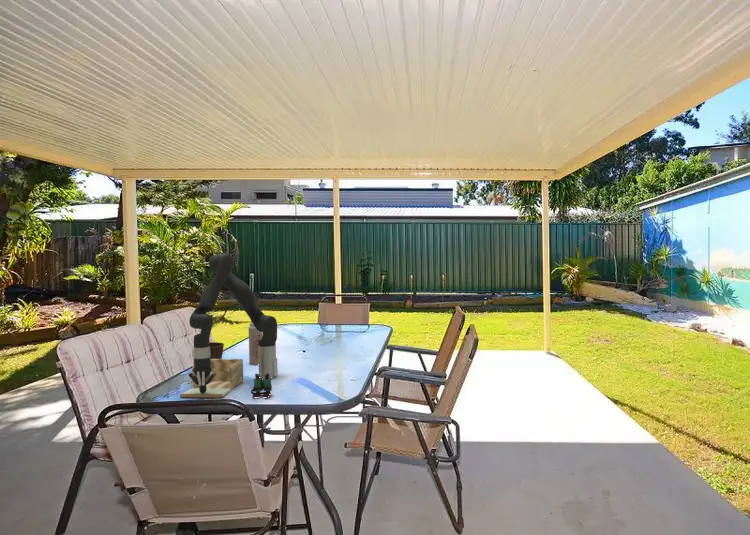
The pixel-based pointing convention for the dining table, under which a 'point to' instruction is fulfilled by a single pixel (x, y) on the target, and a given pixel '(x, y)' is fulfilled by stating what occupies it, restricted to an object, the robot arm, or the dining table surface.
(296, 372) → the dining table surface
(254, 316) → the robot arm
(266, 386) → the binoculars
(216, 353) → the plant pot
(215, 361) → the crate
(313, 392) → the dining table surface
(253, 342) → the thermos bottle
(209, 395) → the panel
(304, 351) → the dining table surface
